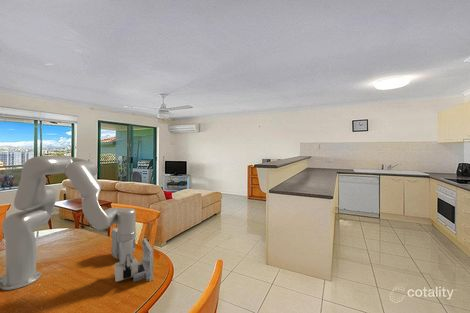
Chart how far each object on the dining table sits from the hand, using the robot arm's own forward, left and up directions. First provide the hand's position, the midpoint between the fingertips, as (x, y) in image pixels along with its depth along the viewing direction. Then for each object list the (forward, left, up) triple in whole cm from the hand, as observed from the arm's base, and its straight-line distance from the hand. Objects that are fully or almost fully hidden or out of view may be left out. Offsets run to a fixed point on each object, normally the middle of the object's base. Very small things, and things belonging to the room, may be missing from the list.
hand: (126, 274), depth 95 cm
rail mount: (+6, 0, -2) cm, 7 cm away
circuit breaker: (+2, +24, -2) cm, 24 cm away
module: (0, 0, -1) cm, 1 cm away
